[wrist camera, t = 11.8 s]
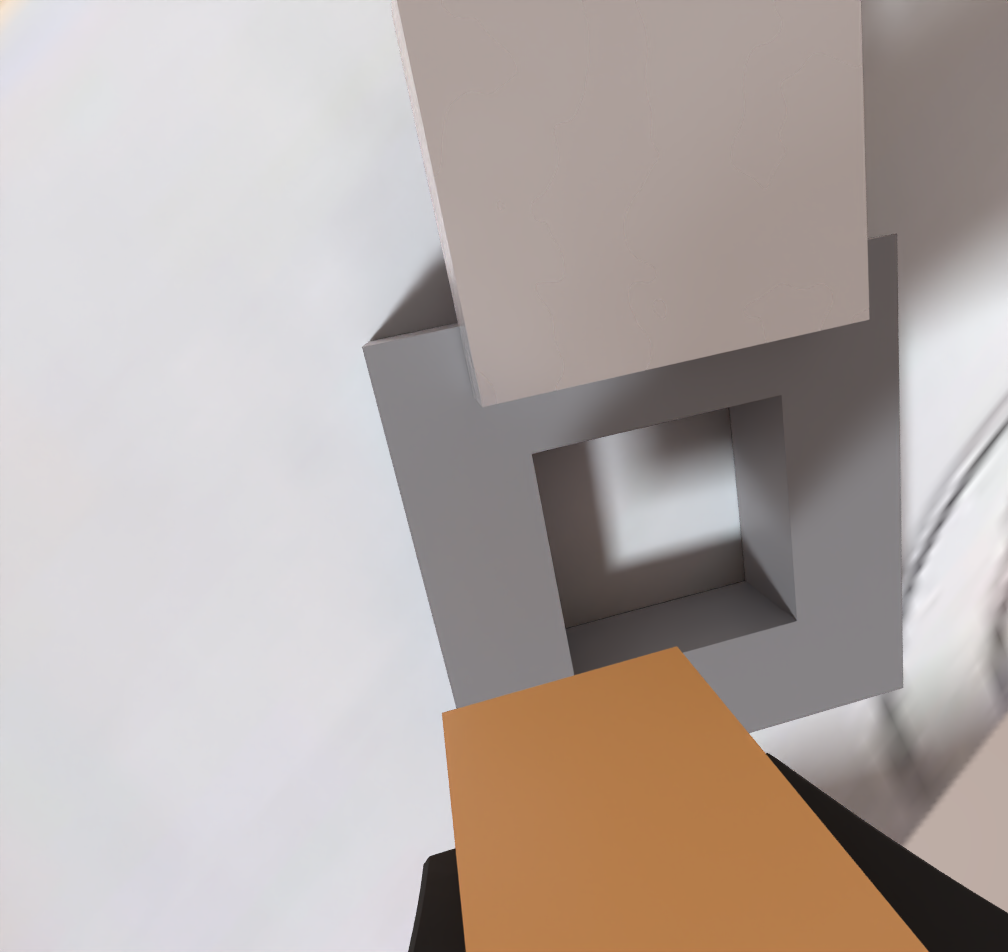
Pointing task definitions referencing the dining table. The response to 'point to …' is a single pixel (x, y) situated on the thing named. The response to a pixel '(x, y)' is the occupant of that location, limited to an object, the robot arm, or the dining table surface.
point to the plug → (643, 826)
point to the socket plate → (761, 500)
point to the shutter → (638, 178)
